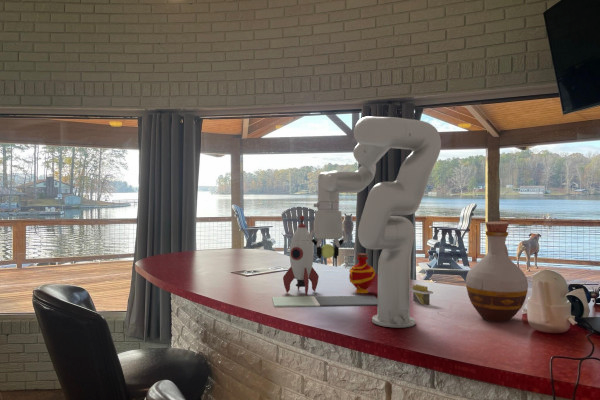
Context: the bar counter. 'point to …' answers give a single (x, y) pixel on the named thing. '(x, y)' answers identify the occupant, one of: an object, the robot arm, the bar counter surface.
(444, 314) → the bar counter surface
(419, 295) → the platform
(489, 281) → the jug
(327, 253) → the ball
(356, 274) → the potion bottle
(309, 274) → the toy
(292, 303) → the strip
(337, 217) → the robot arm
